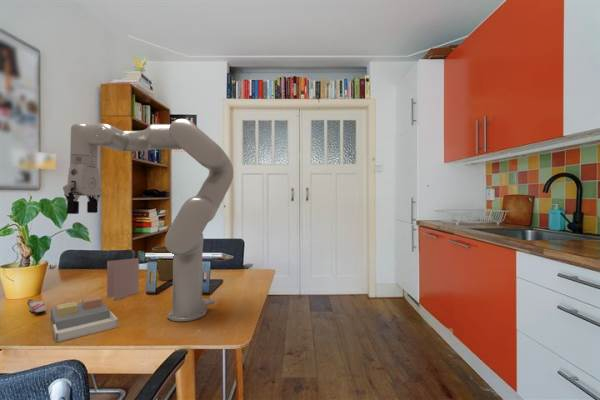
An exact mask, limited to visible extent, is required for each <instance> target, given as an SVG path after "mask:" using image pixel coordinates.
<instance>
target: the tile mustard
mask: <svg viewBox="0 0 600 400" xmlns="http://www.w3.org/2000/svg"><path fill="white" fill-rule="evenodd" d="M77 303H78V302H77V301H72V302H65V303H60V304H56V307H57V315H58V317H61V316H66V315H70V314H75V313H78V305H77Z"/></svg>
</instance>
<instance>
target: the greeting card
mask: <svg viewBox="0 0 600 400" xmlns="http://www.w3.org/2000/svg"><path fill="white" fill-rule="evenodd" d="M139 261H140V258H139V257H137V258H135V257H134V258H125V259H116V260H115V259H114V260H107V261H106V262H107V263H106V269H107V270H106V298H108V299H109V298H113V302H116V301H119V300H121V299H124V298H128V297H131V296H133V295H136V294H139V292H140V289H139V287H140V285H139V284H140V282H139V281H140V278H139V277H140V271H139V267H140V262H139Z"/></svg>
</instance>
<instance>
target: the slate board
mask: <svg viewBox="0 0 600 400" xmlns="http://www.w3.org/2000/svg"><path fill="white" fill-rule="evenodd" d="M76 303H77V305H78V313H75V314H70V315H66V316H61V317H58V315H57V306H56V307H51V308H50V319H51V322H52V323H51V324H52V325H53V324H56V328H57V330H61V329H65V328H70V327H74V326H78V325H82V324H87V323H91V322H95V321H100V320H104V319H108V318H110V312H111V311H110V309H109V308H108V307H107V305H106V304H105V303H104V302H103V301H102V306H100V307H95V308H91V309H86V310H84V308H83V307H82V301H81V302H76Z"/></svg>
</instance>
